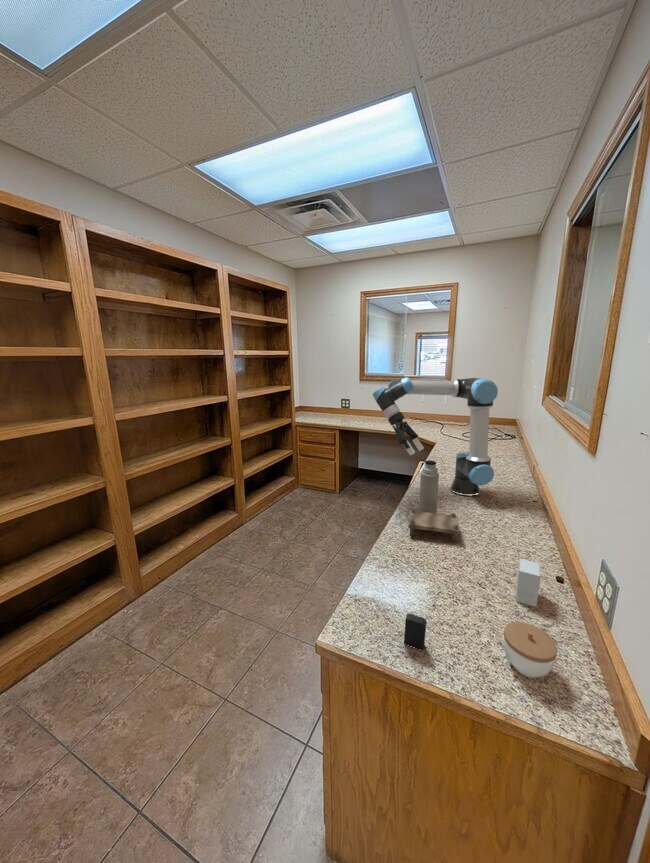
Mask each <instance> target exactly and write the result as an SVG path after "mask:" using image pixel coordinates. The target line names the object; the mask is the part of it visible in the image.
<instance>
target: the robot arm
mask: <svg viewBox="0 0 650 863" xmlns="http://www.w3.org/2000/svg"><path fill="white" fill-rule="evenodd" d="M406 395H419V396H420V395H421V396H422V395H425V396H426V395H427V396H452V397H453V398H461V399H465V400H467V402H466V404H467V405H466V406H467V407H468V408H469V409H470V411H469V412H470V415H469V416H470V418H469V424H470V425H469V448H468V449H469V452H467V451H462V452H461V451H459V452H458V453H456V457H455V472H454V479H453V480H452V483H451V484H450V490H451V489H452V490H453V491H455V492H458V493H462V494H476V493H479V494H480V492H479V491H480V487H479V486H485V485H488V484H490V482H492V481H493V479H494V476H495V470H494V468H493V467H492V466H491V460H492V459H491V457H490V456H489V455H488V453H489V452H488V450H489V429H490V426H489V425H490V410H491V408H493V406H494V401H495V400H496V399H497V397H498V395H499V394H498V386H497V384H496V383H495V382H494V381H492V380H491V379H488V378H483V377H478V378H477V377H470V378H468V377H467V378H461V379H458V378H455V379H453V380H421V379H420V380H412V379H410V378H409V377H407V376H405V377H403V378H401V379H393V380H391V381H389V383H388V386H387V387H385V386H380V387H378V388H377V389H375V390H374V391H373V392H372V397H373V398H374V400H375V402H376V404H377V405H378V407H379V408H380V410H381V412H383V416H384V417H385V418H386V419H387V421H388V423H389V424H390V426H392V428H393V430H394V432H395V435H396V437H397V440H398V442H399V445H402V446H403V447H404V448H405V450H406V451H407V454H408V455H409V456H412V455H414V454H415V453H416V451H415V449H414V448H413V447H412V445H411V443H410V442H409V440H407V437H406V435H407V436H408V437H409V438H410V439H411V440H412V442H413V444H414V445H415V447H416V449H417V450H418V451H419V452H421V451H423V450H424V449H425V447H424V446H423V444H422V443H421V441H420V440H419V438H418V437H419V435H418V434H417V433H416V432H415V430H414V429H413V428H412V427H411V426H410V425H409V423H408V422H407V421H406V420H405V421H403V420H404V419H405V416H404V414H403V413H402V411H401V409H400V408H399V407H398V405H397V404H396V403H395V402H396V401H398V400H399V399H401V398H403V397H404V396H406Z"/></svg>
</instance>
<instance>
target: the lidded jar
mask: <svg viewBox="0 0 650 863" xmlns="http://www.w3.org/2000/svg"><path fill="white" fill-rule="evenodd" d="M503 649H504V652H505V655H506V657H507V659H508V661H509V663H510V664H511V666H513V668H514V669H515V670H516V671H517V672H518V673H519V672H520V673H519V674H521V675H522V674H523V676H524V675H525V676H524V677H526V676H527V678H531V679H538V678H543V677H545V676H547V675H548V674H549V673H551V671H552V670H553V668H554V666H555V663H556V658H557V655H558V647H557V644H556V642H555V640H553V638H552V637H551V636H550V635H549V634H548V633H546V631H544V630H543V629H541V628H539V627H537V626H535V625H533V624H530V623H527V622H523V621H522V622H521V621H514V622H513V621H512V622H510V623H508V624H506V625H505V627H504V630H503Z"/></svg>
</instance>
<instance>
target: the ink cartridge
mask: <svg viewBox="0 0 650 863" xmlns="http://www.w3.org/2000/svg"><path fill="white" fill-rule="evenodd" d="M404 622H405V624H404V637H403V644H404V645H405V644H406V645H409V646H412V647H415V648H417V649H416V650H418V649H421V650H423V651H424V649H425V648H424V647H425V644H426V642H425V641H426V630H427V619H426V618H424V617H422V616H418V615H415V614H414V613H413V614H412V613H408V612H407V613H406V617H405V621H404ZM406 645H405V646H406ZM409 646H408V647H409ZM412 647H411V648H412ZM415 648H414V649H415ZM421 650H420V651H421Z"/></svg>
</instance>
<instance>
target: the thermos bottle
mask: <svg viewBox="0 0 650 863" xmlns="http://www.w3.org/2000/svg"><path fill="white" fill-rule="evenodd" d="M436 464H437V461H435V460H430V459H429V460H428V459H427V460H424V466H423V467H422V469H421V470H422V471H421V472H420V485H419V501H418V502H419V504H418V505H419V506H418V511H419V512H428V513H437V509H438V494H439V493H438V492H439V480H440V479H439V478H440V473H439V472H438V471H439V470H438V468H437V465H436ZM437 514H438V513H437Z"/></svg>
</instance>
